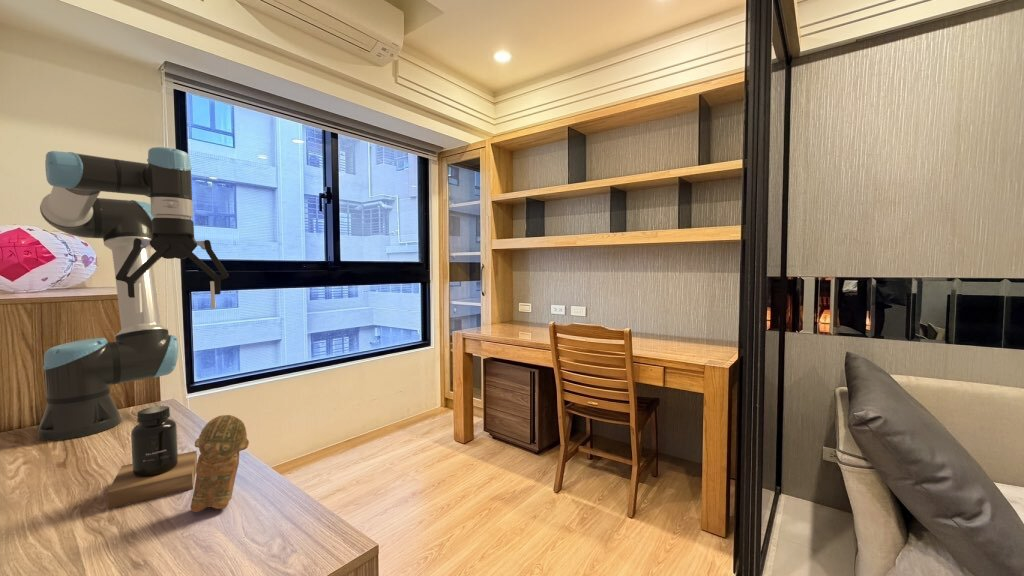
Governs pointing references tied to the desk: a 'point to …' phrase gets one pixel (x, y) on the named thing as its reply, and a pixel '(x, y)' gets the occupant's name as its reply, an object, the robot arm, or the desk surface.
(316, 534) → the desk surface
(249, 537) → the desk surface
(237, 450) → the figurine
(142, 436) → the supplement bottle
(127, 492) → the pedestal
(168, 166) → the robot arm
